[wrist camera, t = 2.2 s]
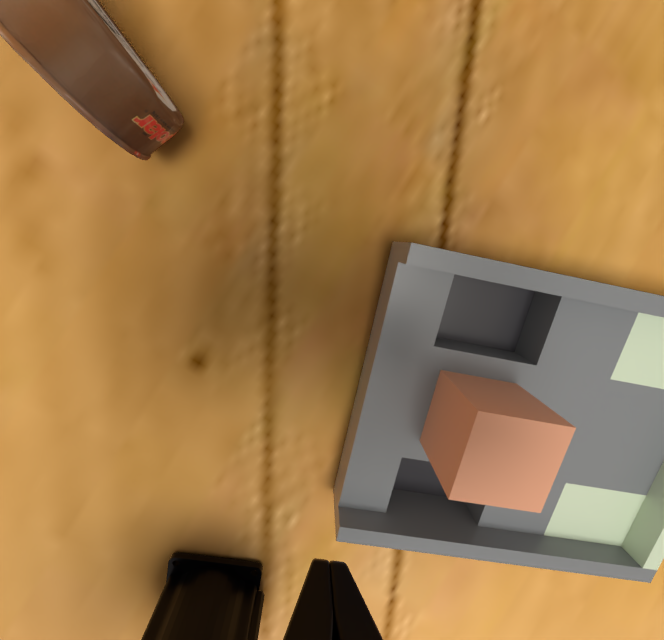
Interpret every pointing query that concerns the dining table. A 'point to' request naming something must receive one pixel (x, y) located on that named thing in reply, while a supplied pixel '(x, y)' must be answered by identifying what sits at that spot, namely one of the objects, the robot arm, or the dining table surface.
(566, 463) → the box
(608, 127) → the dining table surface
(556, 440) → the block
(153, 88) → the tin
